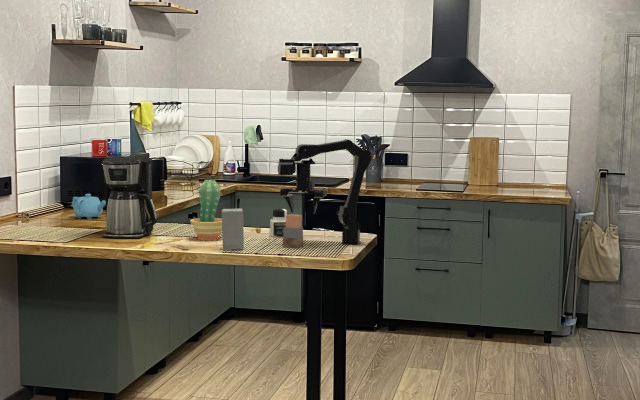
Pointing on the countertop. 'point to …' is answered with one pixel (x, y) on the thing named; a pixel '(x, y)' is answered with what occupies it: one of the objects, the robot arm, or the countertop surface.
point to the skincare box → (232, 229)
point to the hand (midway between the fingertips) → (303, 213)
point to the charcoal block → (293, 233)
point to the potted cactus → (208, 212)
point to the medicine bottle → (278, 223)
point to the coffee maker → (128, 197)
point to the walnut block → (292, 242)
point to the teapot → (87, 206)
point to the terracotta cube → (293, 221)
